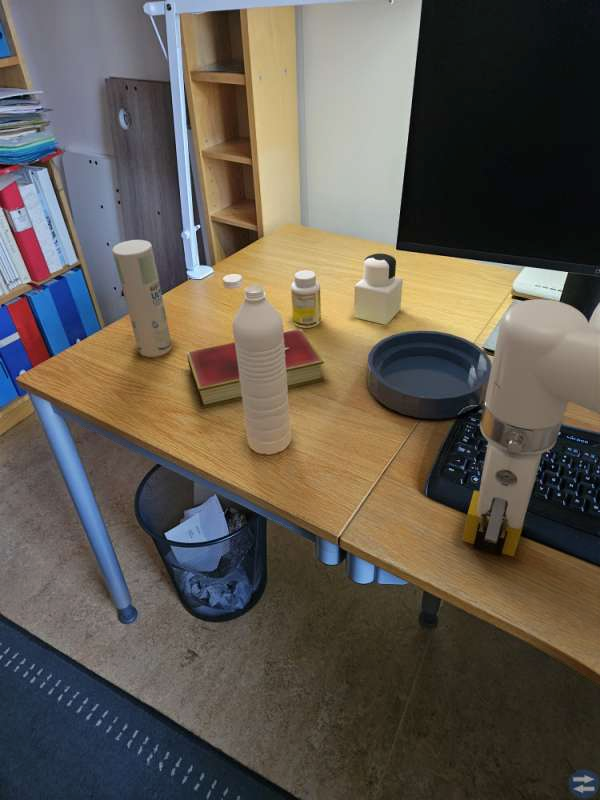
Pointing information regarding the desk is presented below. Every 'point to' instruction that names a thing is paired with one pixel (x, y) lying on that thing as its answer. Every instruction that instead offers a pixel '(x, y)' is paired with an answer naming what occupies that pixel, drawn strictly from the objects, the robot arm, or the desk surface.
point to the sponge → (474, 520)
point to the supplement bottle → (306, 299)
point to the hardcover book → (221, 374)
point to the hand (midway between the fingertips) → (490, 534)
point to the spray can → (143, 296)
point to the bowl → (428, 373)
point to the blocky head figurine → (378, 290)
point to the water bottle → (261, 369)
